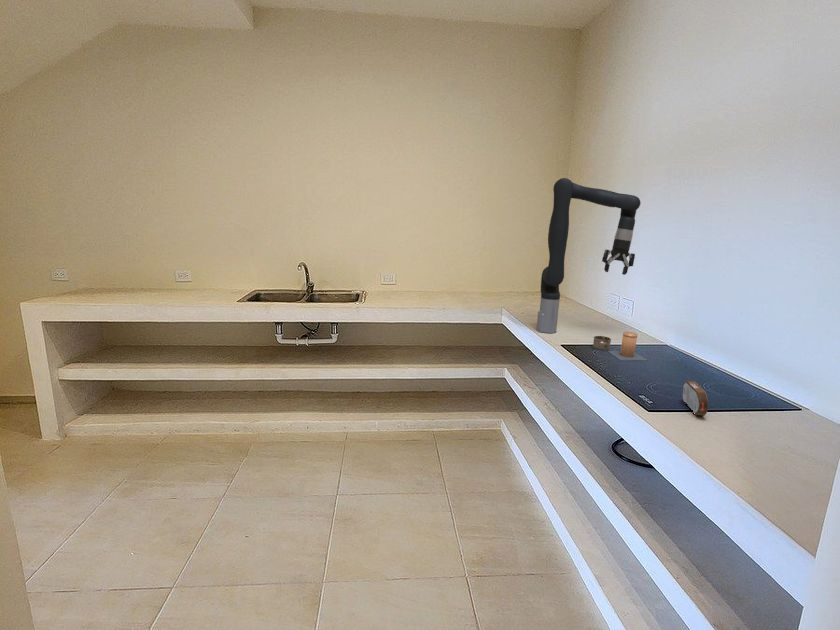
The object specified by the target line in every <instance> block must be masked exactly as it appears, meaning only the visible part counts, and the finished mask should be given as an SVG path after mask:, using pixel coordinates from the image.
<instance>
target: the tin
mask: <svg viewBox="0 0 840 630" xmlns="http://www.w3.org/2000/svg"><path fill="white" fill-rule="evenodd" d="M682 385H683V386H682V394H681V397H682V401H683V403H684V402H686V403H687V404H688V406H689V407H690V408H691V409H692V410H693V412H694V413H695V416H702V415H703V416H702V417H704V416H705V415H707V412H708V409H709V400H708V395H707V392H706V391H705V390H704V389H703V388H702V386H700V385H699V383H697V382H696V381H695V380H693V381H689V380H687V381H684V383H683V384H682Z"/></svg>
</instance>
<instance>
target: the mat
mask: <svg viewBox="0 0 840 630" xmlns="http://www.w3.org/2000/svg"><path fill="white" fill-rule="evenodd" d="M607 353H609V354H610V355H611V356H612V357H614V358H616V359H617V360H618V361H619V362H623V361H624V362H625V361H626V362H627V361H629V362H648V359H647V358H645V357H644V356H642V355H640V354H639V353H637V352H635V354H634V357H624V356H621V355H620V353H621V350H607Z"/></svg>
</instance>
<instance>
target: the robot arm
mask: <svg viewBox="0 0 840 630" xmlns="http://www.w3.org/2000/svg"><path fill="white" fill-rule="evenodd" d="M572 181H573V180H570V179H569V178H567V177H563V178H560V179H558V180H557V181H556V182H555V183H554V185H553V189H552V190H553V205H552V206H553V207H552V212H551V217H550V220H549V226H548V234H547V235H548V236H547V245H548V253H549V255H548V256H549V258H548V259H549V261H548V266H546V267H544V269H543V270H542V273H541V279H540V303H539V311H537V318H536V319H537V321H536V331H538V332H539V333H544V334H555V333H557V327H558V319H559V309H560V302H561V301H560V300H561V293H560V285H561V284H562V283H563V281H564V278H565V258H566V251H567V246H568V245H567V244H568V236H569V230H570V205H571V200H572V199H575V200H582V201H585V202H589V203H593V204H595V205H600V206H604V207H609V208H617V209H620V216H619V219H618V220H619V221H618V224H617V228H616V231H615V235H614V239H613V244H612V248H611V250H609V249H606V248H605V249H604V252H603V255H602V260H601V262H602V263H604V268H603V269H604V272H605V273H609V271H610V265H611V263H613V262H614V261H619V262H622V263H623V268H622V273H621V274H622V275H623V276H625V275H626V274H627V273H628V269H629V267H634V261H635V257H636V254H635V253H633V252H632V253H630V252H629V251H630V249H631V248H630V247H631V244H632V241H633V235H634V229H635V223H636V219H635V218H636V214H637V210H638V209H640V207H641V199H640V198H639V197H638V196H637V195H632V194H627V193H619V192H616V191H612V190H607V189H601V188H593V187H589V186H583V185H581V184H577V183H575V182H572ZM609 255H611V256H610V257H609ZM627 258H629V259H627Z"/></svg>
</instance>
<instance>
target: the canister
mask: <svg viewBox="0 0 840 630" xmlns="http://www.w3.org/2000/svg"><path fill="white" fill-rule="evenodd" d="M611 341H612V338H610V337H609V336H605V335H594V336H593V343H592V348H593V349H594V350H596V351H597V350H598V351H604V352H605V351H610V349H611V343H612V342H611Z"/></svg>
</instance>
